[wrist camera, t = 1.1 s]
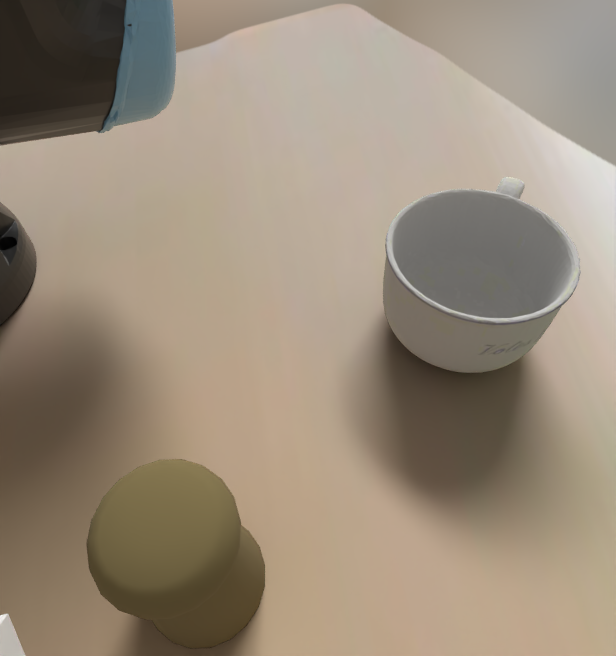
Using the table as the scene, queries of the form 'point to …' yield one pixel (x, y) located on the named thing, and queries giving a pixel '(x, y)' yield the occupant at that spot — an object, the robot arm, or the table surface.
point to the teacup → (475, 276)
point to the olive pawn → (177, 553)
